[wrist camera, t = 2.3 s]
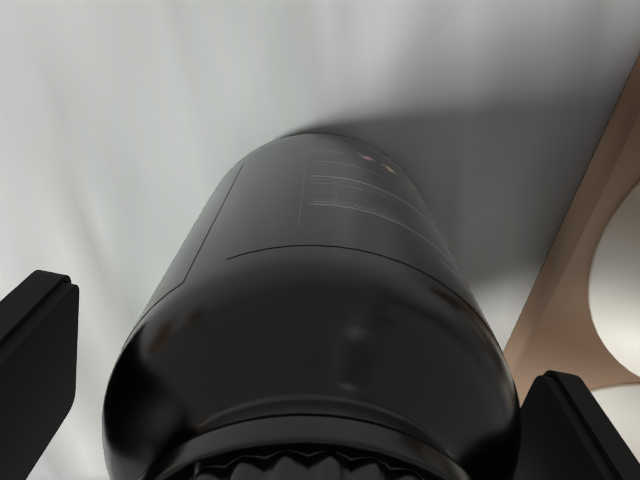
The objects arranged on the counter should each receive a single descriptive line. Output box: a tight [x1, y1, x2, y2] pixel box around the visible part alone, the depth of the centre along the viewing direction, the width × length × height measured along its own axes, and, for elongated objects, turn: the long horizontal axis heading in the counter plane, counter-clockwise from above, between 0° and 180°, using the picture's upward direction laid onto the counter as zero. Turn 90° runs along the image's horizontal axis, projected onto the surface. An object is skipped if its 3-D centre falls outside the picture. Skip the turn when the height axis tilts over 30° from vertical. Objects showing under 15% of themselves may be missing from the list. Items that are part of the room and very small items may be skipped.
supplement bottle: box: [102, 133, 522, 480], centre depth 11 cm, size 7×7×12 cm
